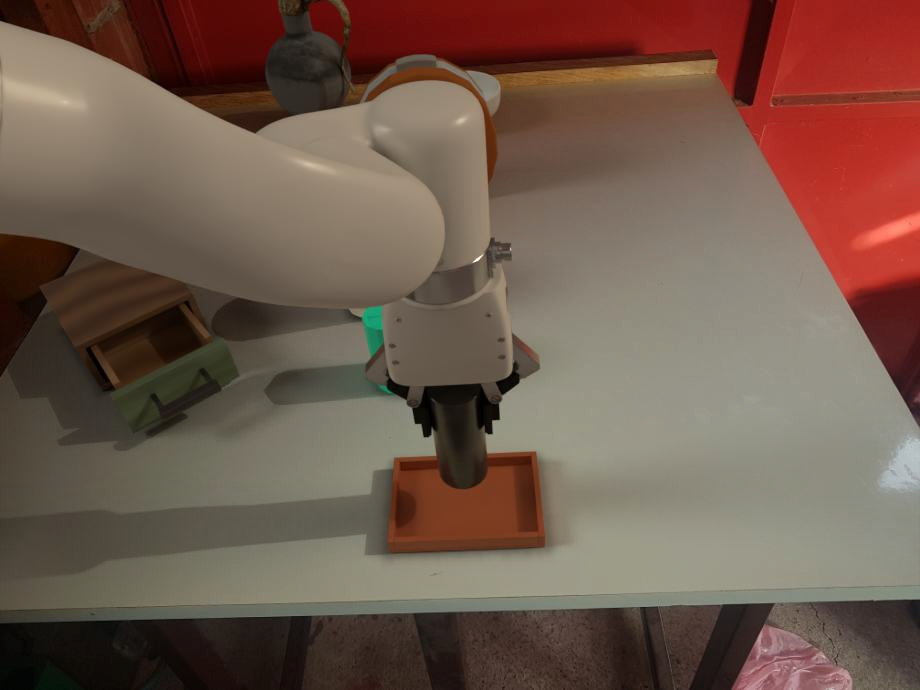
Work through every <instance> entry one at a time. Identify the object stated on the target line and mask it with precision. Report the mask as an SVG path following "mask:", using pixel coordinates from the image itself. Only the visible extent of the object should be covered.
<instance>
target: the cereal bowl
mask: <svg viewBox="0 0 920 690" xmlns="http://www.w3.org/2000/svg"><path fill="white" fill-rule="evenodd" d="M466 71H467V73H468V74H469V75H470V77H471V78H472V79H473V80H474V82H475V83H476V84H477V85H478V87H479V88H480V89H481V90H482V93H483V95H484V98H485V101H486V104H487V106H488V109H489V112H490V115H491V118H492V117H493V116H495V114H496V112H497V111H498V109H499V106H500V102H501V90H502V89H501V84H500V82H499V80H498V79H497V78H496V77H495V76H493V75H490V74H488V73H486V72H481V71H476V70H466Z"/></svg>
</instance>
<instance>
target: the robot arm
mask: <svg viewBox="0 0 920 690" xmlns="http://www.w3.org/2000/svg"><path fill="white" fill-rule="evenodd" d="M489 197H490V196H489V184H488V175H487V156H486V136H485V122H484V113H483V110H482V107H481V105H480V103H479V101H478V99H477V98H476V97H475V96H474V95H473V93H472V92H470V91H469V90H468V89H466V88H464V87H462V86H460V85H458V84H455V83H451V82H446V81H436V80H426V81H416V82H409V83H405V84H401V85H398V86H395V87H393V88H390V89H388V90H386V91H384V92H383V93H381V94H380V95H379V96H377V97H376V98H375V99H374V100H372V101H369V102H365V103H361V104H358V103H357V104H352V105H347V106H340V108H335V109H329V110H323V111H317V112H311V113H305V114H300V115H291V116H288V117H284V118H282V119H278V120H276V121H274V122H271V123H269V124H267V125H265V126H264V127H262V128H260V129H259V130H258V131H256V132H252V131H251V130H250V131H249V130H247V129H246V128H243V127H240V126H238V125H236V124H233V123H231V122H229V121H227V120H224V119H222V118H220V117H218V116H216V115H214V114H212V113H210V112H208V111H207V110H204V109H202V108H200V107H198V106H196V105H194V104H193V103H190V102H189V101H187V100H185V99H183V98H182V97H180V96H178V95H176V94H175V93H172V92H170V91H169V90H167V89H165V88H164V87H162V86H161V85H158V84H157V83H155V82H153V81H151V80H150V79H148V78H147V77H145V76H144V75H141V74H140V73H138V72H136V71H134V70H132V69H130V68H129V67H127V66H124V65H122V64H120V63H118V62H117V61H115V60H113V59H110V58H108V57H106V56H103V55H102V54H99V53H97V52H95V51H93V50H90V49H88V48H85V47H84V46H81V45H78V44H77V43H75V42H74V43H73V42H72V41H68V40H66V39H63V38H59V37H57V36H53V35H49V34H45V33H42V32H39V31H35V30H33V29H32V30H31V29H29V28H25V27H21V26H18V25H15V24H12V23H8V22H5V21H1V20H0V234H4V235H12V236H18V237H19V236H20V237H27V238H28V237H29V238H35V239H43V240H48V241H52V242H53V241H54V242H58V243H61V244H65V245H68V246H72V247H74V248H77V249H80V250H82V251H86V252H87V253H90V254H93V255H95V256H98V257H101V258H103V259H105V258H106V259H109V260H111V261H114V262H118V263H121V264H124V265H127V266H131V267H134V268H138V269H142V270H145V271H149V272H152V273H156V274H159V275H163V276H166V277H169V278H172V279H176V280H179V281H182V282H184V284H188V285H192V286H196V287H199V288H202V289H205V290H209V291H212V292H216V293H220V294H223V295H227V296H231V297H235V298H239V299H243V300H249V301H253V302H259V303H264V304H270V305H277V306H287V307H288V306H289V307H301V308H303V307H304V308H317V309H333V310H334V309H335V310H337V309H338V310H339V309H340V310H349V309H364V308H371V307H377V306H382V325H383V336H384V343H383V344H382V345H381V346H380V348H379V349H378V350H377V351H376V352H375V354H374V355H373V356H372V357H371V356H370V358H369V360H368V361H367V362H366V363H365V365H364V366H365V368H364V375H363V377H364V379H366V380H368V381H370V382H372V383H375V384H376V385H378V384H379V385H381V386H383V385H384V386H386V387H387V389H388V390H389V391H390V392H392V393H394V394H393V395H396V396H397V397H400V398H401V399H403V400H405V401H406V403H405V404H406V406H407V407H409V408H411V410H412V417H413V421H414V425H420V426H421V431H422V436H423V438H424V439H426V438H430V437H432V436H433V430H432V424H431V418H430V411H429V405H428V398H427V392H426V386H438V385H458V384H475V383H480V384H481V386H482V390H483V415H484V428H485V433H486V436H488V435H494V430H493V429H494V428H493V421H501V411H500V403H501V402H503V396H505V395H506V394H507V393H508V392H510V391H511V390H512V389H514V388H515V387H516V386H518V385H519V384H520V382H521V380H522V379H523V380H525V379H527V378H528V377H530V376H532V375H533V374H535V373H536V372H538V371H539V370H540V369H541V363H540V362H541V361H540V356H539V354H538V353H536V351H534V350H533V349H532V348H531V347H530V346H529V345H528V344H527V343H525V342H524V341H523V340H522V339H520V337H518V336H517V335H516V334H515V333H513V328H512V326H513V325H512V316H511V305H510V297H509V291H508V284H507V281H506V276H505V273H504V270H503V267H502V263H505V262H513V257H512V256H513V254H512V242H501V241H500V240H499V241H496V240H495V237H494V236H493V237H491V221H490V220H491V219H490V198H489Z"/></svg>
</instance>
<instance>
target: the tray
mask: <svg viewBox="0 0 920 690" xmlns="http://www.w3.org/2000/svg"><path fill="white" fill-rule="evenodd" d="M487 458H488V473H487V475H486V477H485V479H484V480H483V481H482V482H481V483H480V484H479V485H477V486H475V487H473V488H469V489H456V488H452V487H450V486H448V485H447V484H446V483H444V482H443V480H442V479H441V477H440V474H439V469H438V463H437V456H436V455H424V456H423V455H422V456H421V455H420V456H401V457H393V468H392V481H391V493H390V504H389V516H388V517H389V518H388V531H387V541H386V542H387V546H388V550H389V553H390V554H393V553H416V552H417V553H418V552H444V551H445V552H446V551H469V550H470V551H471V550H495V549H520V548H545V547H546V529H545V521H544V512H543V511H544V510H543V503H542V501H543V500H542V492H541V483H540V473H539V464H538V453H537V450H535V451H534V450H533V451H510V452H490V453H489V452H487Z"/></svg>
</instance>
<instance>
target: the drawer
mask: <svg viewBox="0 0 920 690" xmlns="http://www.w3.org/2000/svg"><path fill="white" fill-rule="evenodd" d="M209 333H210V332H209ZM209 333H208V331H207V330H206V329H205V328H204V327H203V325H202V324H201V323H200V322H199V321H198V319H197V318H196V317H195V316H194V315H193V313H192V312H191V311H190V310H189V309H188V307H187V306H186V305H185V304H184V303H180V304H178V305H176V306H174V307H172V308H170V309H168V310H166V311H164V312H161V313H159V314H157V315H155V316H153V317H151V318H149V319H147V320H145V321H142V322H140V323H138V324H136V325H134V326H132V327H130V328H128V329H126V330H123V331H121V332H119V333H117V334H115V335H113V336H111V337H109V338H106V339H104V340H102V341H100V342H98V343H96V344H94V345H92V346H90V348H91V350H92V352H93V353H94V355H95V357H96V358H97V360H98V362H99V363H100V365H101V367H102V368H103V370H104V371H105V373H106V375H107V376H108V378H109V380H110V381H111V383H112V384H113V386H112V387H113V388H114V389H115V390H114V391H112V392H111V393H109V396H110V397H111V399H112V401H113V402H114V404H115V406H116V407H117V409H118V410H119V411H118V412H120V413H121V416H122V417H123V418H124V420H125V423H126V424H127V426H128V427H129V429H130V430H131V432H132V433H133V434H135V433H137V432H140V431H141V430H143V429H145V428H147V427H148V426H151V425H153V424H154V423H156V422H157V421H159V420H161V419H162V421H163V422H167V421H169V420H170V419H172V418H174V417H177V416H178V415H180V414H182V413H184V412H186V411H187V410H189V409H191V408H192V407H194V406H196V405H198V404H201V403H202V402H203V401H205V400H208V399H210V398H212V396H214V395H216V394H218V393H220V392H222V391H223V388H222V387H223V386H225V385H227V384H228V383H230V382H232V381H233V380H235V379H237V378H240V377H241V375H240V372H239V370H238V368H237V365H236V362H235V360H234V359H233V356H232V353H231V351H230V349H229V346H228V344H227V342H226V340H225V339H224V338H223V337H222V336H220V337H219V338H217V339H215V340H213V336H212V335H211V333H210V334H209Z"/></svg>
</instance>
